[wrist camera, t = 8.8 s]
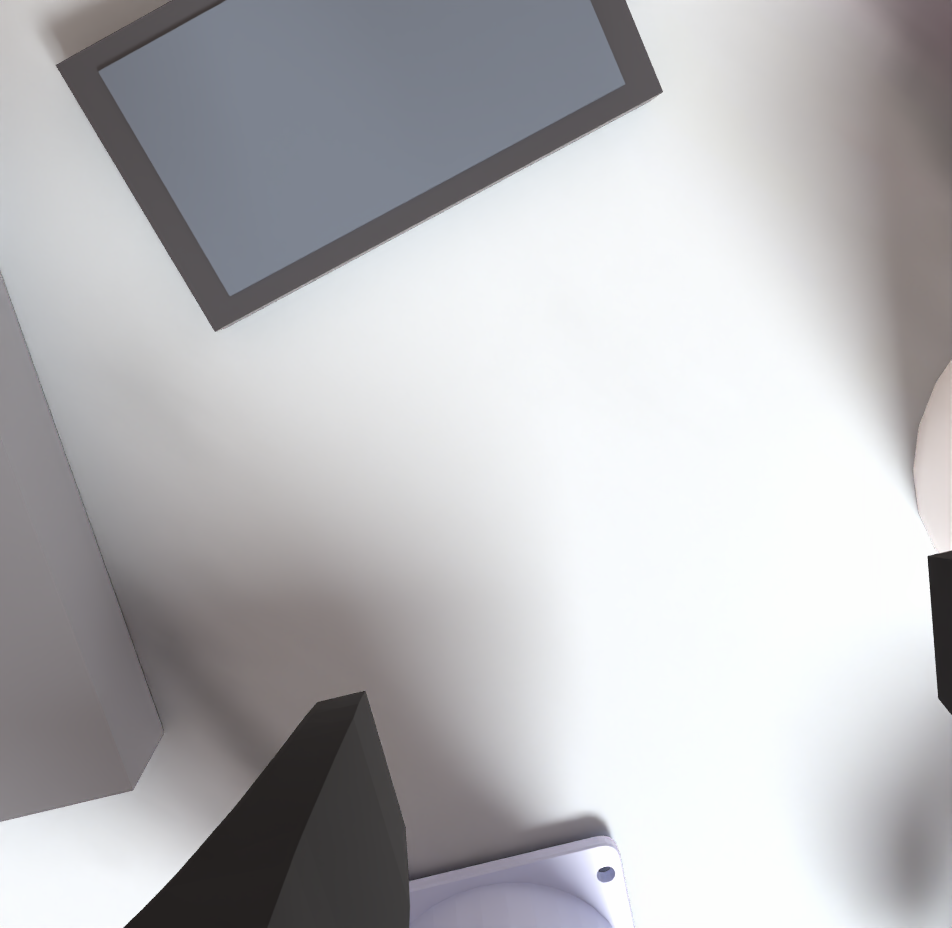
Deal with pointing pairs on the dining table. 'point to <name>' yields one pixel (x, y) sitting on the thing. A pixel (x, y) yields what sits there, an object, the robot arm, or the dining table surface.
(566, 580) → the dining table surface
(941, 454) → the white rounded block
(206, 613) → the dining table surface
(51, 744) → the socket plate
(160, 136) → the tablet with stylus
